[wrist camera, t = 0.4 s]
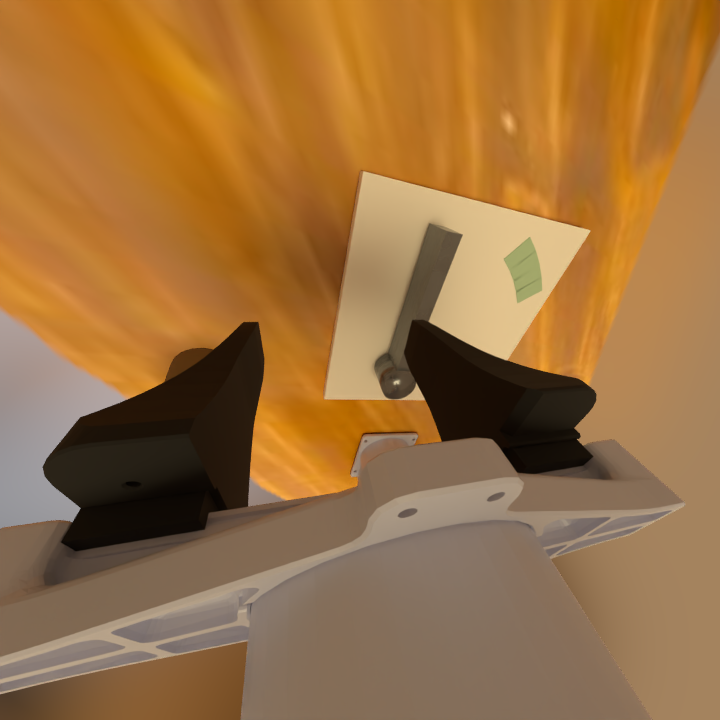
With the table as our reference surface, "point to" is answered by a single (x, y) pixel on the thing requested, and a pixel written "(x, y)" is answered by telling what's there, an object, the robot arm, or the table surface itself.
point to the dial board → (462, 284)
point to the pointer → (417, 307)
